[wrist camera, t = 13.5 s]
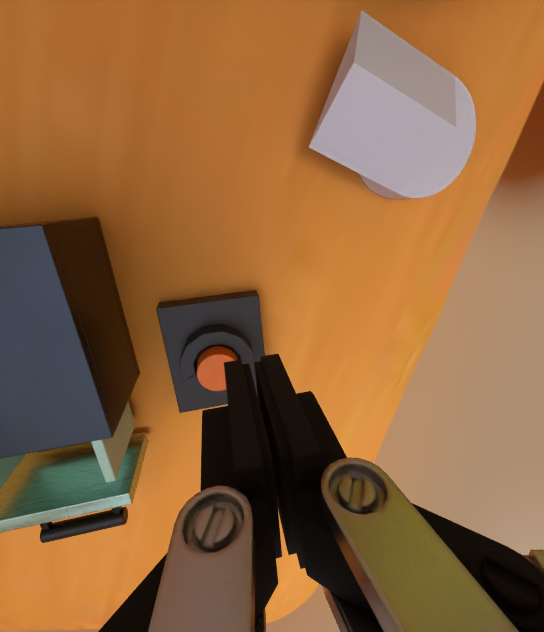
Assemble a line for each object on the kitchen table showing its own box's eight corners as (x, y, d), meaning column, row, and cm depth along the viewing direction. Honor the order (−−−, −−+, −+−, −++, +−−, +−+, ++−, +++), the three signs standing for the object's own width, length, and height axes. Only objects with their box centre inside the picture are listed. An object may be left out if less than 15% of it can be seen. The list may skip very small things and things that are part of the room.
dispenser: (140, 373, 30) (113, 438, 22) (-3, 395, 28) (-92, 476, 20) (98, 217, 25) (42, 223, 17) (-80, 233, 23) (-244, 249, 15)
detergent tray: (158, 476, 34) (146, 544, 27) (45, 500, 32) (1, 578, 25) (114, 319, 27) (83, 357, 20) (-31, 339, 26) (-117, 388, 19)
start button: (239, 377, 29) (241, 387, 27) (201, 384, 28) (200, 394, 27) (235, 342, 28) (236, 351, 26) (194, 348, 27) (193, 358, 26)
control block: (266, 387, 34) (272, 407, 30) (181, 402, 32) (178, 425, 29) (256, 290, 30) (261, 300, 26) (159, 302, 28) (152, 315, 25)
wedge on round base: (296, 154, 26) (415, 213, 30) (323, 138, 20) (469, 216, 24) (342, 35, 24) (464, 115, 28) (388, -24, 18) (537, 90, 22)
